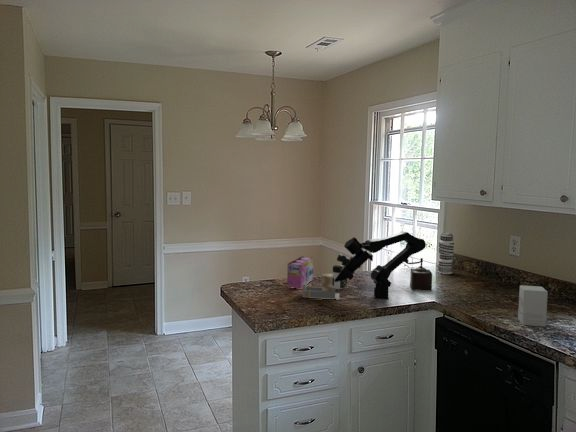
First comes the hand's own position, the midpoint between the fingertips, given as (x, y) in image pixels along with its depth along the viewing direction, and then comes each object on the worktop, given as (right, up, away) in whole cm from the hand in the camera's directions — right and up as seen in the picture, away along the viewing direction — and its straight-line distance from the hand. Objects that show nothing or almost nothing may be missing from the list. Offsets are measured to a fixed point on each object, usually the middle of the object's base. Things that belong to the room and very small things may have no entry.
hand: (334, 281), depth 231 cm
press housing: (-7, -8, +2) cm, 11 cm away
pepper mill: (+46, -7, +22) cm, 52 cm away
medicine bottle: (+4, -6, +20) cm, 22 cm away
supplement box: (+79, -13, -35) cm, 88 cm away
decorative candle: (+75, -3, +61) cm, 97 cm away
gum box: (-16, -6, +27) cm, 32 cm away
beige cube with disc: (-3, -7, +1) cm, 8 cm away
